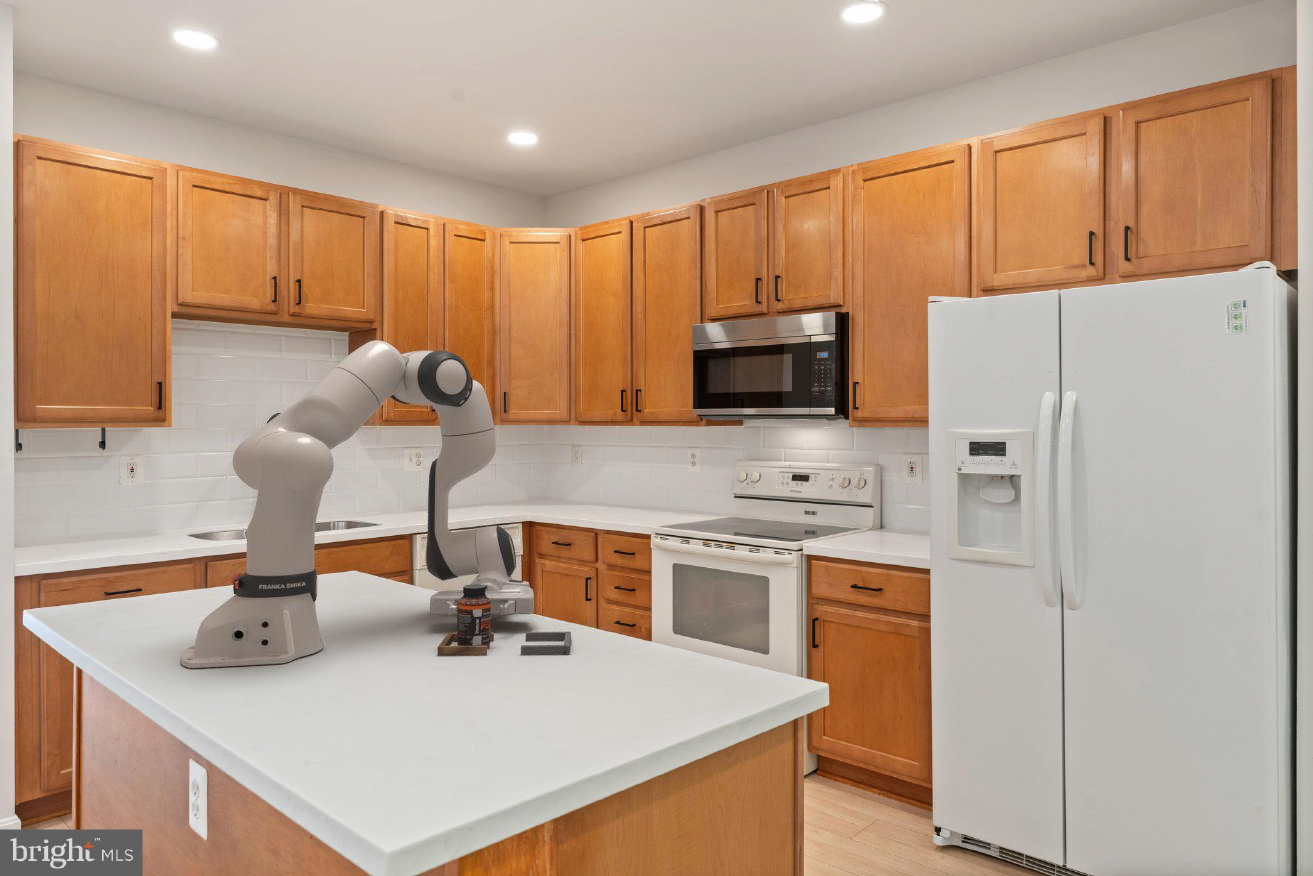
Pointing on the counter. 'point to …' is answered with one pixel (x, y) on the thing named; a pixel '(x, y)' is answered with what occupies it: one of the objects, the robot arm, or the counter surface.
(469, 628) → the supplement bottle
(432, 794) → the counter surface
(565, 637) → the charcoal bay
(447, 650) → the walnut bay
